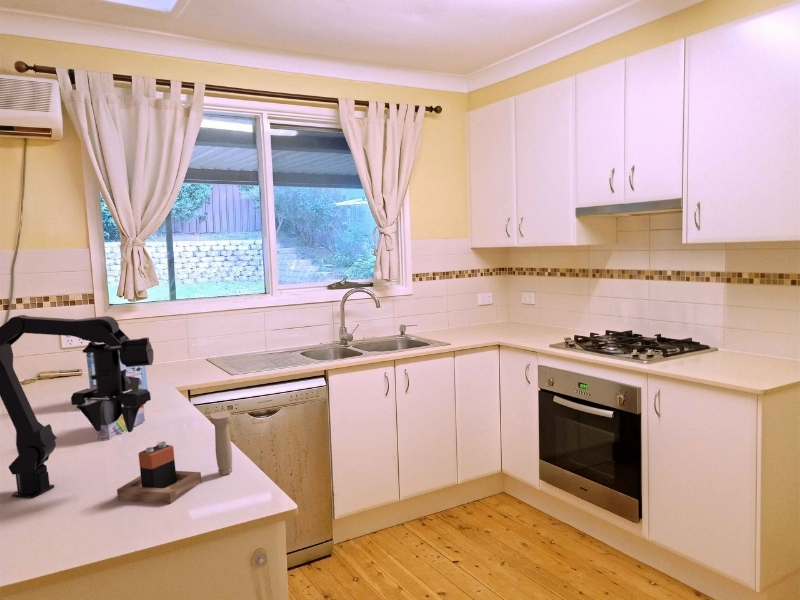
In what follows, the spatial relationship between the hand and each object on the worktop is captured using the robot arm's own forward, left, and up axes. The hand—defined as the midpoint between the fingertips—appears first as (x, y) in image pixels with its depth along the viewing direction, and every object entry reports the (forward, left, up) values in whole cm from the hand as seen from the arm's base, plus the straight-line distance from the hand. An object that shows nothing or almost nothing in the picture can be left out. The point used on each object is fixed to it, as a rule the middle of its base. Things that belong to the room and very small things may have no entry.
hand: (114, 431), depth 147 cm
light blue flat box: (-56, +68, -13) cm, 89 cm away
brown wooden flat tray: (+14, -3, -13) cm, 19 cm away
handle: (+24, +9, -13) cm, 29 cm away
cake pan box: (-30, +37, -13) cm, 50 cm away
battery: (+14, -3, -12) cm, 19 cm away
